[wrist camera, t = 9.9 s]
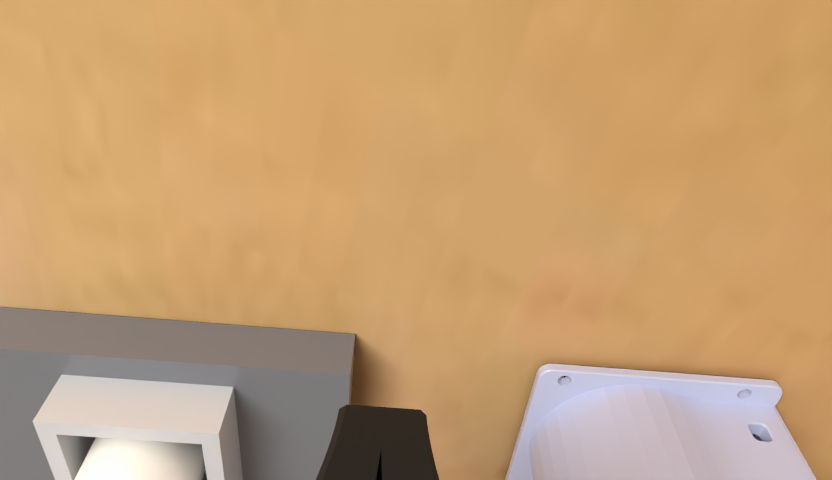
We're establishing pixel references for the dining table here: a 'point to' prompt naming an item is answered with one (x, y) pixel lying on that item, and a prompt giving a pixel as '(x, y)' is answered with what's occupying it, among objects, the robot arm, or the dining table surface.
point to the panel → (168, 392)
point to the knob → (142, 460)
